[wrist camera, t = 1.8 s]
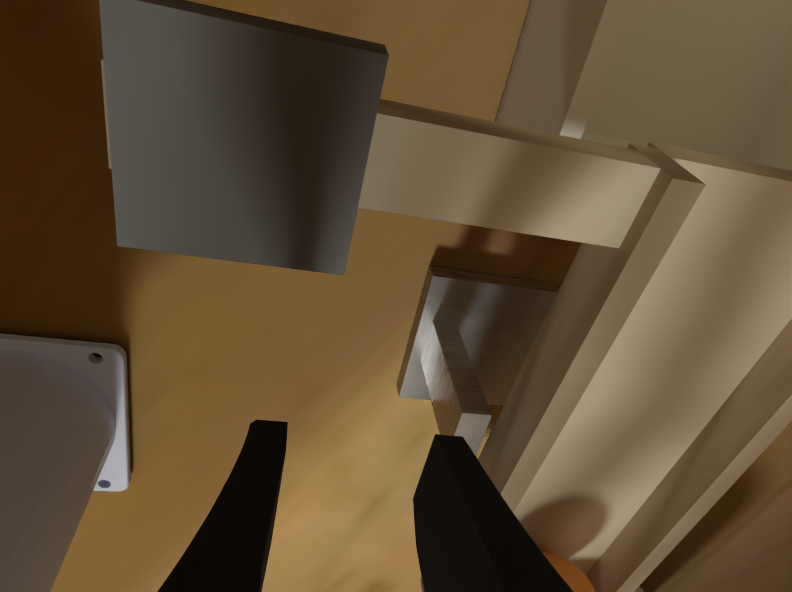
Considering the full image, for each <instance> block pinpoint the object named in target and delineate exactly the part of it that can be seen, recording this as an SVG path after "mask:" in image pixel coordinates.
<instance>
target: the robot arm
mask: <svg viewBox="0 0 792 592" xmlns="http://www.w3.org/2000/svg"><path fill="white" fill-rule="evenodd" d="M92 353H97V354H100V355H101V356H102V358H99V357H95V356H94V355H93V354H92ZM287 424H288V422H279V421H266V420H255V421H254V422H252V423H250V427H249V431H248V434H247V437H246V440H245V442H244V445H243V448H242V450H241V452H240V455H239V457H238V459H237V461H236V463H235V466H234V468H233V470H232V472H231V474H230V476H229V478H228V480H227V482H226V483H225V485H224V487H223V489H222V491H221V493H220V495H219V496H218V498H217V500H216V502H215V504H214V506H213V507H212V509H211V511H210V513H209V514H208V516H207V518H206V519H205V521H204V522H203V524H202V526H201V527H200V529H199V530H198V532H197V534H196V535H195V537H194V538H193V540H192V542H191V543H190V545H189V546H188V548H187V550H186V551H185V553H184V554H183V556H182V557H181V559H180V560H179V562H178V563H177V565H176V566H175V568H174V569H173V571H172V572H171V573H170V575H169V576H168V578H167V579H166V581H165V582H164V583H163V585H162V586H161V588H160V589H159V590H158V592H261V591H262V586H263V581H264V576H265V571H266V566H267V561H268V556H269V551H270V545H271V540H272V534H273V528H274V522H275V515H276V509H277V503H278V497H279V490H280V484H281V478H282V472H283V465H284V459H285V453H286V440H287ZM105 480H107V481H105ZM130 480H131V469H130V440H129V411H128V382H127V355H126V352H125V350H124V349H123V348H122V347H120V346H118V345H115V344H108V343H97V342H87V341H76V340H65V339H55V338H44V337H33V336H22V335H12V334H1V333H0V592H50V591H51V589H52V587H53V584H54V582H55V579H56V577H57V575H58V572H59V570H60V568H61V565H62V563H63V561H64V558H65V556H66V554H67V551H68V549H69V546H70V544H71V542H72V539H73V537H74V535H75V532H76V530H77V528H78V525H79V523H80V521H81V518H82V516H83V514H84V511H85V509H86V506H87V504H88V502H89V499H90V497H91V495H92V492H93V490H94V491H123V490H125V489H127V488H128V486H129V483H130ZM413 504H414V521H415V535H416V547H417V553H418V559H419V564H420V570H421V575H422V581H423V586H424V592H574V591H573V590H572V589H571V588H570V587H569V585H568V584H567V583H566V582H565V581H564V579H563V578H562V577H561V576H560V575H559V573H558V572H557V571H556V570H555V568H554V567H553V566H552V564H551V563H550V562H549V561H548V559H547V558H546V557H545V555H544V554H543V553H542V552H541V550H540V549H539V548H538V546H537V545H536V544H535V542H534V541H533V540H532V538H531V537H530V536H529V534H528V533H527V532H526V530H525V529H524V527H523V526H522V524H521V523H520V522H519V520H518V519H517V517H516V516H515V515H514V513H513V512H512V510H511V509H510V507H509V506H508V505H507V503H506V502H505V500H504V499H503V497H502V496H501V494H500V493H499V491H498V490H497V488H496V487H495V485H494V484H493V482H492V481H491V479H490V478H489V476H488V475H487V473H486V471H485V470H484V468H483V467H482V465H481V464H480V462H479V461H478V459H477V457H476V456H475V454H474V453H473V451H472V450H471V448H470V447H469V445H468V443H467V442H466V440H465V439H464V438H463V437H462V436H450V435H438V434H435V437H434V440H433V442H432V445H431V448H430V451H429V454H428V457H427V460H426V463H425V466H424V468H423V471H422V474H421V477H420V480H419V483H418V486H417V489H416V492H415V494H414V497H413Z"/></svg>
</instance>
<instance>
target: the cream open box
mask: <svg viewBox="0 0 792 592" xmlns="http://www.w3.org/2000/svg"><path fill="white" fill-rule="evenodd" d="M495 122H497V123H502V124H507V125H512V126H517V127H522V128H527V129H532V130H537V131H542V132H547V133H552V134H557V135H562V136H567V137H572V138H577V139H582V140H587V141H592V142H597V143H602V144H607V145H612V146H617V147H622V148H627V147H628V145H629V143H632V144H637V145H641V146H646V147H647V145H648V143H649V142H654V143H659V144H664V145H668V146H673V147H678V148H683V149H688V150H693V151H698V152H702V153H707V154H712V155H717V156H722V157H727V158H732V159H736V160H741V161H746V162H751V163H756V164H761V165H766V166H770V167H775V168H780V169H785V170H790V171H792V0H531V2H530V6H529V9H528V12H527V16H526V19H525V22H524V26H523V29H522V32H521V36H520V39H519V43H518V46H517V49H516V53H515V56H514V59H513V63H512V66H511V69H510V73H509V76H508V80H507V83H506V86H505V90H504V93H503V96H502V100H501V103H500V106H499V110H498V113H497V117H496V120H495Z"/></svg>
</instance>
